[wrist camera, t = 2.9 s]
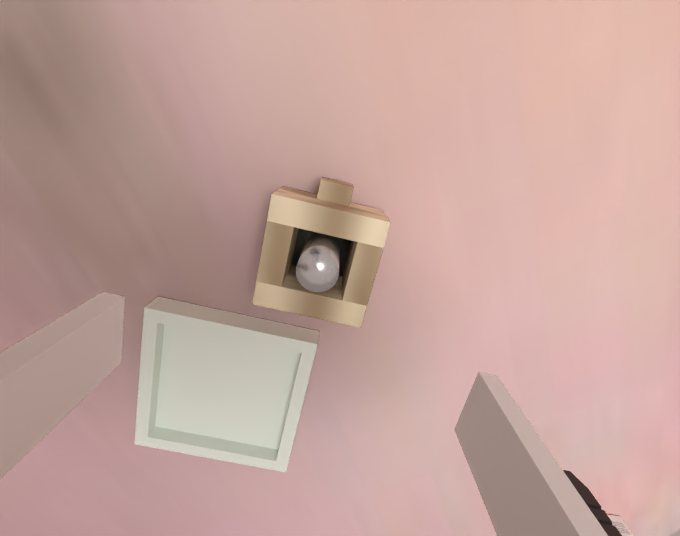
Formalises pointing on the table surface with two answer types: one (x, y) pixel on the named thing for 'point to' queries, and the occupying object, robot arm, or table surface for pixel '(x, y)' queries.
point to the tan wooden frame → (331, 219)
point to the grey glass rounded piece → (319, 259)
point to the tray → (221, 383)
